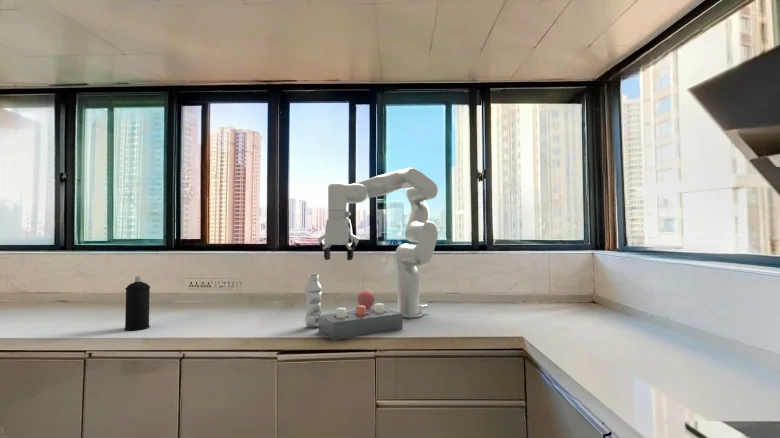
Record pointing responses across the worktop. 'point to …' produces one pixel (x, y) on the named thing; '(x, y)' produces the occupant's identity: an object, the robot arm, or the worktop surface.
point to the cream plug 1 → (340, 313)
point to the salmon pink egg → (360, 310)
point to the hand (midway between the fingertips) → (338, 259)
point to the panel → (359, 324)
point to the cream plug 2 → (379, 308)
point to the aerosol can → (137, 305)
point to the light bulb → (366, 299)
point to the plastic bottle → (313, 301)
